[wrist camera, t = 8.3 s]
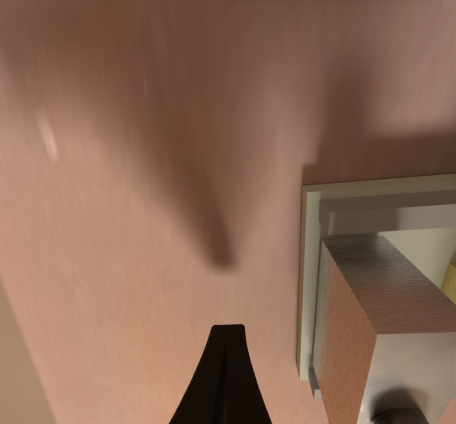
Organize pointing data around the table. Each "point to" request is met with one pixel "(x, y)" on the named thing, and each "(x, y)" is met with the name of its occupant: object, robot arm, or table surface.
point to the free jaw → (381, 336)
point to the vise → (373, 226)
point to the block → (450, 282)
